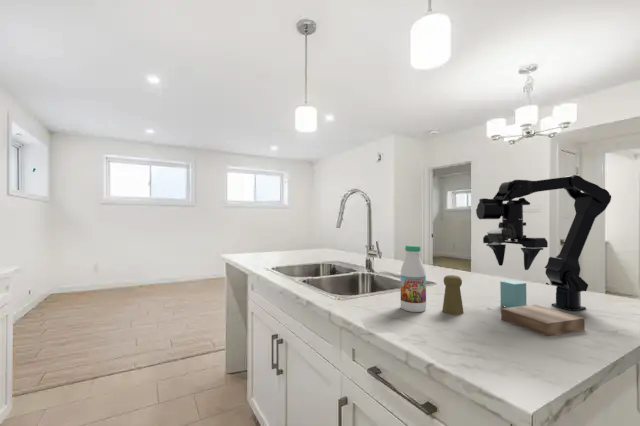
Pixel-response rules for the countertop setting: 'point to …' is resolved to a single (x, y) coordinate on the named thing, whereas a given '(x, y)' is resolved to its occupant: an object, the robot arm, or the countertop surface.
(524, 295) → the teal block
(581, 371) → the countertop surface
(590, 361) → the countertop surface
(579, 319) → the wooden board
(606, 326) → the countertop surface
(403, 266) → the milk bottle
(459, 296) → the cork
